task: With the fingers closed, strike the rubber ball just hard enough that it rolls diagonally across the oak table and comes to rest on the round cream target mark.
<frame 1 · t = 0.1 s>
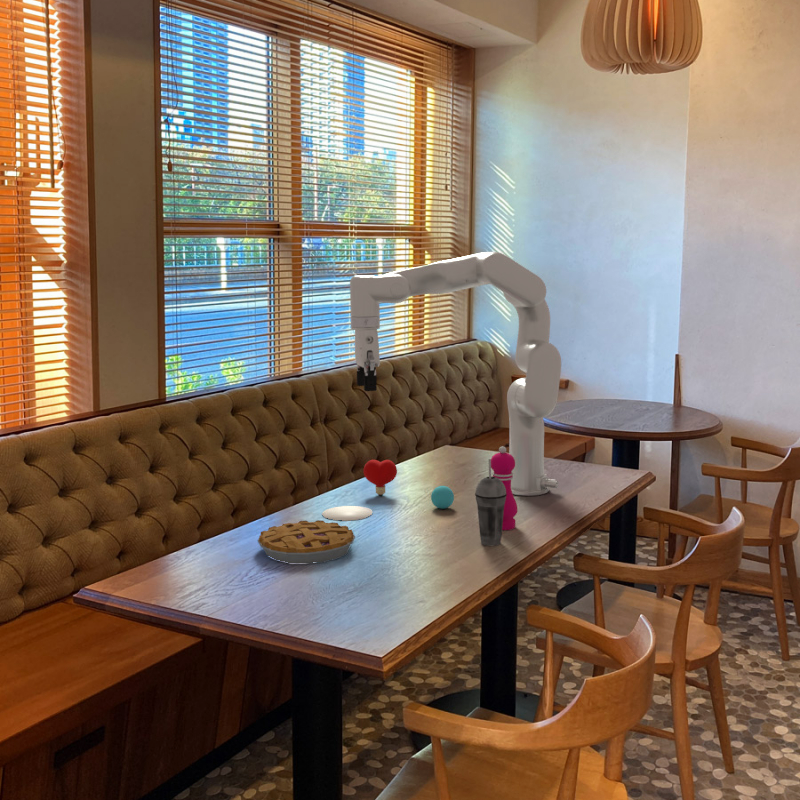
hand: (366, 388, 245), 31 cm above the table, tool pointing down, fingers open, 9 cm apart
pepper mill: (502, 527, 226), on the table
ball: (442, 497, 243), on the table
beverage cup: (490, 543, 214), on the table
target mark: (347, 513, 240), on the table
pie: (307, 552, 211), on the table
light bulb: (380, 496, 257), on the table
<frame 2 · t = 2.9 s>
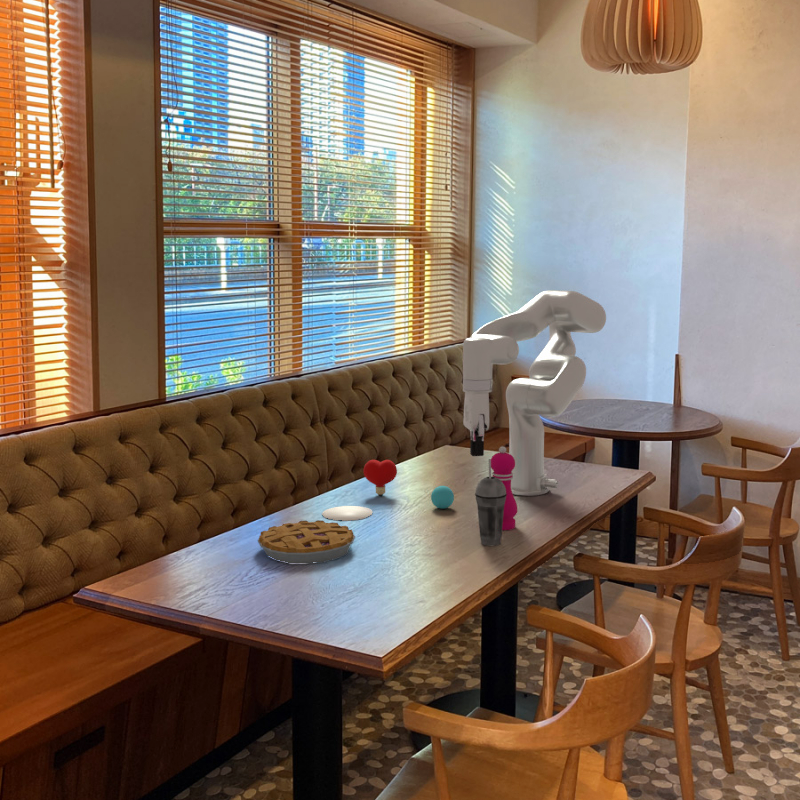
hand: (477, 455, 242), 14 cm above the table, tool pointing down, fingers closed
nothing on the table moved.
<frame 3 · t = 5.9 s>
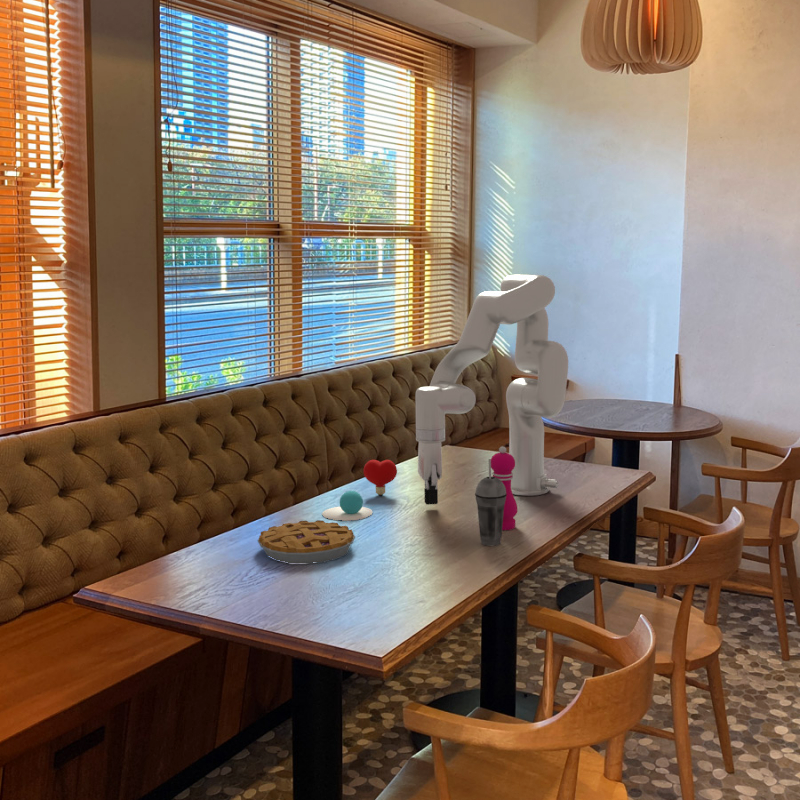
hand: (431, 503, 242), 2 cm above the table, tool pointing down, fingers closed
ball: (351, 502, 239), on the table
everything else where it was.
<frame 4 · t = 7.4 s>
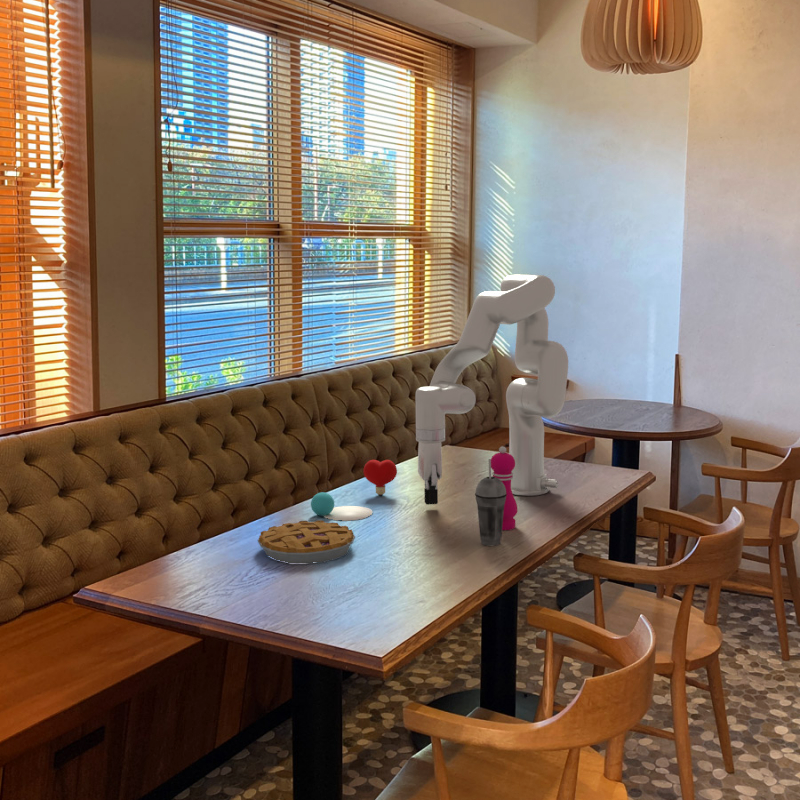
hand: (431, 503, 242), 2 cm above the table, tool pointing down, fingers closed
ball: (322, 504, 238), on the table
everything else where it was.
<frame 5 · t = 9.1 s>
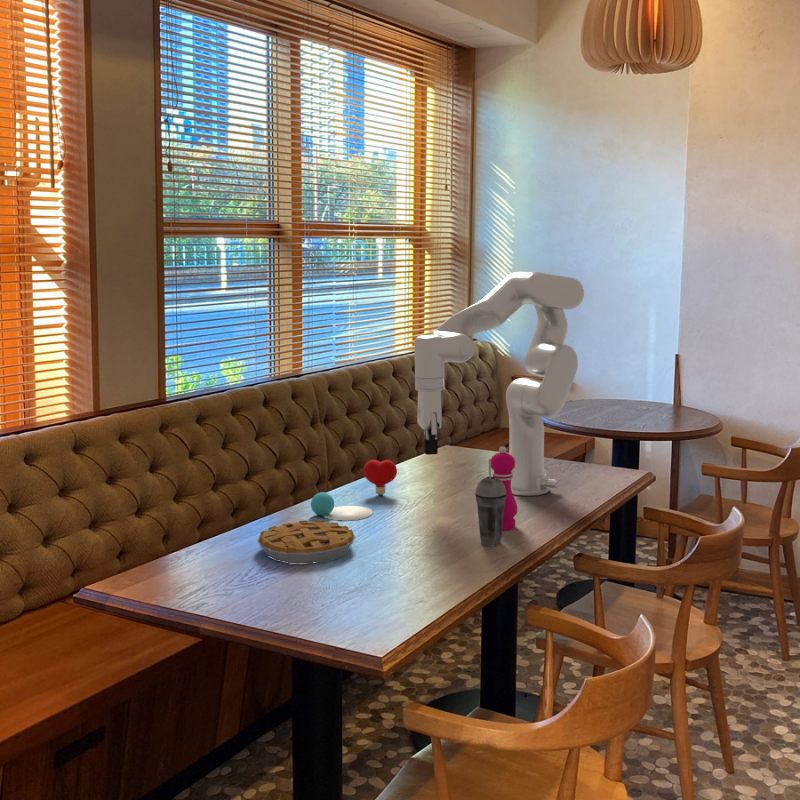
hand: (431, 453, 240), 15 cm above the table, tool pointing down, fingers closed
nothing on the table moved.
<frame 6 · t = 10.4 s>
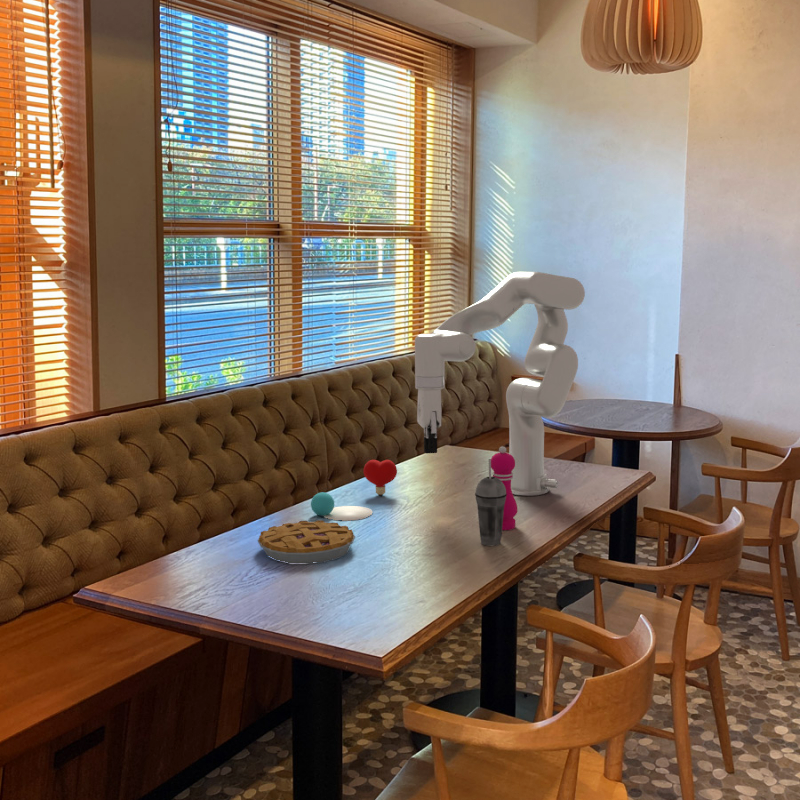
hand: (430, 452, 240), 15 cm above the table, tool pointing down, fingers closed
nothing on the table moved.
at the end: ball 6.4 cm from the target mark (horizontally); ball at rest at the end (0.0 cm/s); ball moved 31.3 cm from its start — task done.
